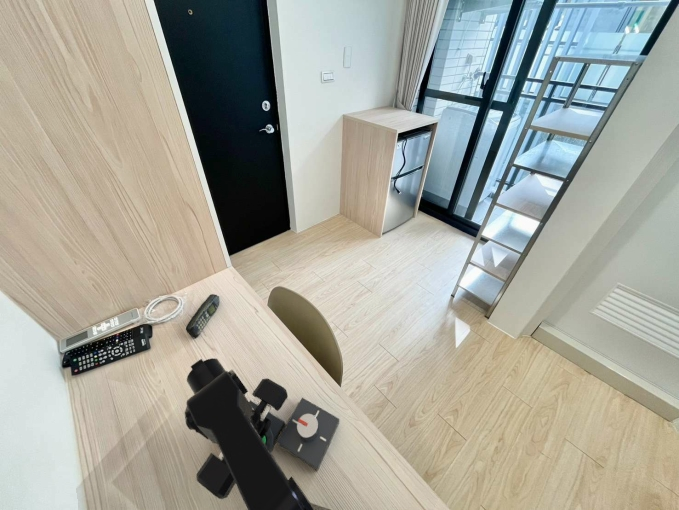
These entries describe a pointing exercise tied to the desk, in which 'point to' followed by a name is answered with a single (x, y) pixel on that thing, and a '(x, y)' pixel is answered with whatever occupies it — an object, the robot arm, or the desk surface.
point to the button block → (271, 428)
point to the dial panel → (318, 447)
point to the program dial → (308, 427)
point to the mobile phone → (202, 316)
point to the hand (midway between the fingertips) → (256, 441)
